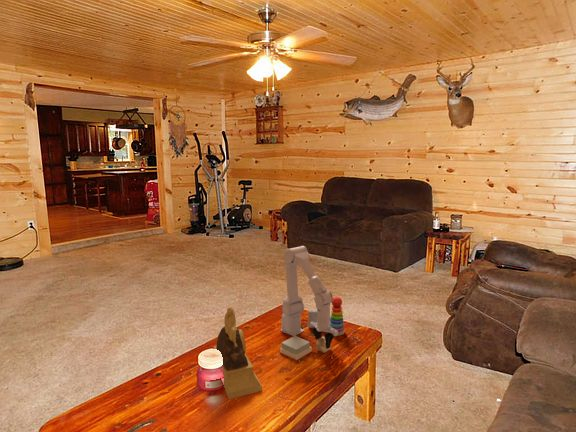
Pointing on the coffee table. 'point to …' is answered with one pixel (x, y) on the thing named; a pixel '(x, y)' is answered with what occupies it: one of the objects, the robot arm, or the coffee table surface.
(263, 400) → the coffee table surface
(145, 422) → the coffee table surface
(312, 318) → the medicine box
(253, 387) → the seated figure statue
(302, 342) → the top slab
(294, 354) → the bottom slab
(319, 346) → the ash cube
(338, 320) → the stacking toy
